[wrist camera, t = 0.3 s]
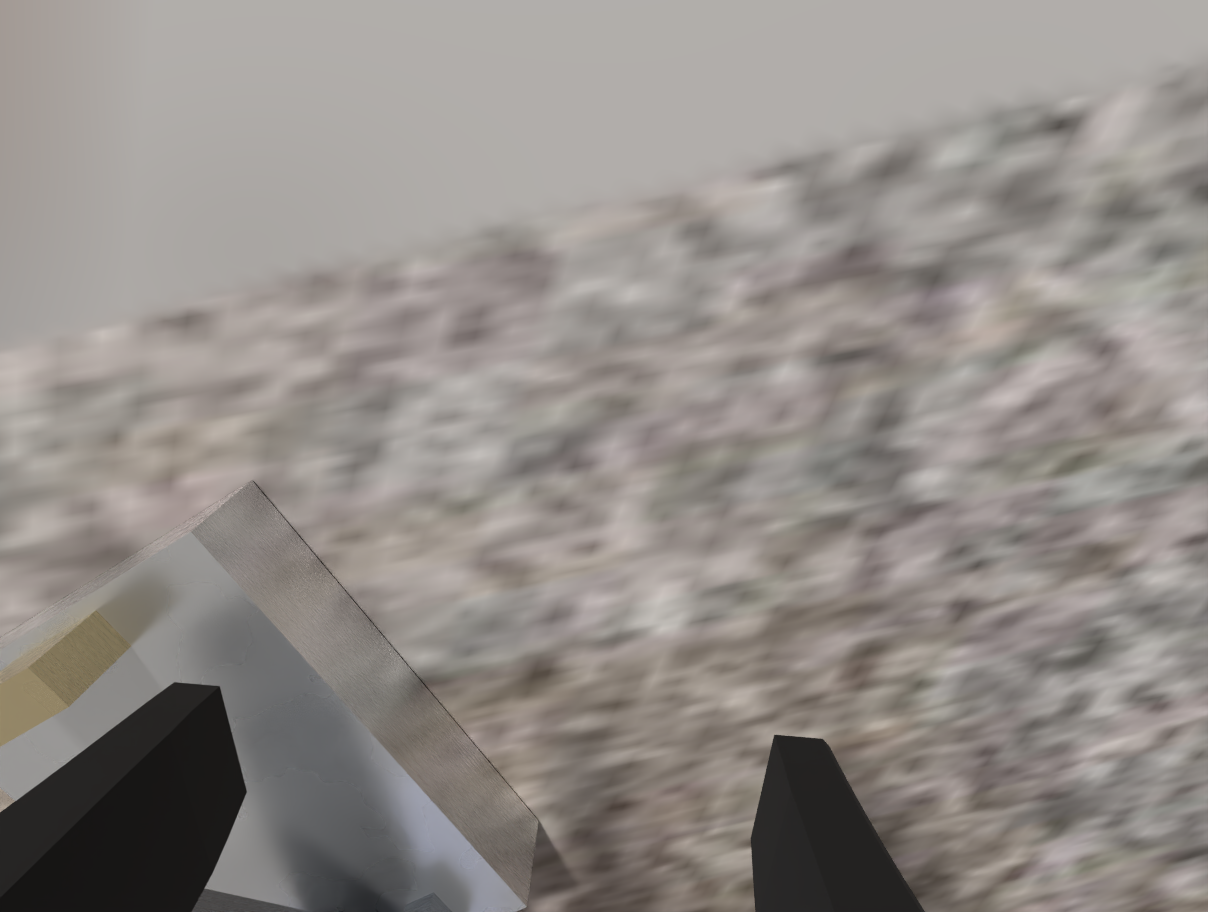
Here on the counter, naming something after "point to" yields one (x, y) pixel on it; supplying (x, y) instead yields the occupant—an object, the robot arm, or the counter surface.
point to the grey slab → (236, 904)
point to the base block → (276, 720)
